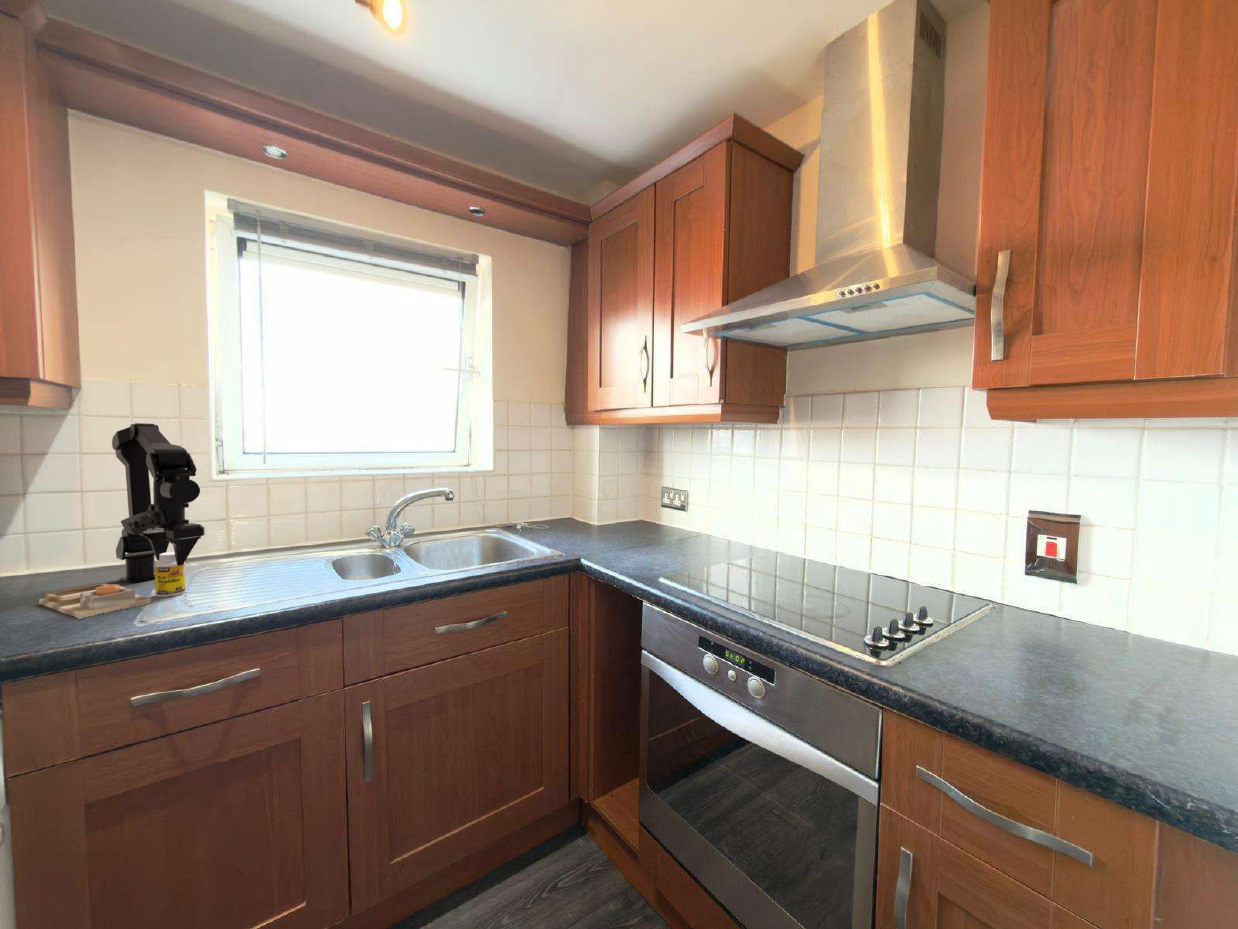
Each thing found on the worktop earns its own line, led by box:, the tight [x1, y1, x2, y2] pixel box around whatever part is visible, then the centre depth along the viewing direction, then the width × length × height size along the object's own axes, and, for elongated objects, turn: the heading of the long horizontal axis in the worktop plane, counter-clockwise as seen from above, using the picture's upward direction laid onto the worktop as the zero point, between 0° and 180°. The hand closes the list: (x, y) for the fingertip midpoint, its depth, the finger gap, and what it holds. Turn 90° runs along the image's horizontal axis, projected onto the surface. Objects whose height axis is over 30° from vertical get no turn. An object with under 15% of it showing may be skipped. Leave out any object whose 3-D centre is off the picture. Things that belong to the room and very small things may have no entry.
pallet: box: [38, 582, 152, 620], centre depth 117 cm, size 20×12×4 cm, turn 65°
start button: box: [96, 583, 121, 596], centre depth 114 cm, size 4×4×2 cm
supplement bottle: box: [154, 551, 186, 598], centre depth 124 cm, size 6×6×10 cm
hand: (170, 562), depth 124 cm, fingers open, 9 cm apart
